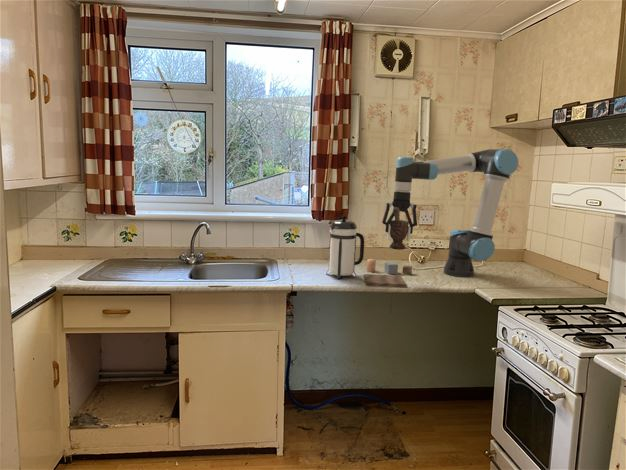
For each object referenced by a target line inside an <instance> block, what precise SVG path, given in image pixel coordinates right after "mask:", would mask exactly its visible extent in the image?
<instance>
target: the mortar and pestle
mask: <svg viewBox="0 0 626 470" xmlns="http://www.w3.org/2000/svg"><path fill="white" fill-rule="evenodd" d="M392 212H393V213H394V217H393V218H394V219H392V221H391V222H390V224H389V225H390V226H391V227H390V238H391V239H392V242H391V243H390V245H389V248H390V249H392V250H397V251H398V250H399V251H402V250H405V249H406V245H405V244H404V243H403V241H404V240H405V239H407V232H408V226H409V222H408V220H405V219H404V220H403V219H401V218H400V214H401V213H400V212H401V211H400V210H399V208H398V207H393V209H392Z"/></svg>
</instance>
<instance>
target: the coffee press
mask: <svg viewBox="0 0 626 470" xmlns="http://www.w3.org/2000/svg"><path fill="white" fill-rule="evenodd" d="M347 218H348V217H347V215H344V214H343V215H342V216H341V219H335V220H333V221H332V222H331V224H330V225H329V226H330V228H329V233H330V234H329V236H330V237H329V238H330V239H329V257H328V260H329V261H328V270H327V271H326V273H325V274H326V275H327V276H329V275H330V274H332V275H335V276H337V277H336V280H338V281H339V280H340V279H341V277H344V276H352V277H353V278H354V279H355V278H357V273H356V272H355V270H356V269H355V266H358V265H360V264H361V263H362V261H363V259H364V256H365V255H364V253H365V238H364V237H365V236H364V235H363V234H362V233H360V232H357V229H358V226H357V223H355V221H352V220H349V219H347ZM357 237H358V239H359V241H360V243H359V244H360V245H359V257H358V259H357V260H356V247H357ZM328 272H329V274H328ZM353 274H354V275H355V276H354V275H353Z"/></svg>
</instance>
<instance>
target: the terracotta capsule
mask: <svg viewBox="0 0 626 470" xmlns="http://www.w3.org/2000/svg"><path fill="white" fill-rule="evenodd" d="M366 261H367V262H366V272H368V273H376V265H377V264H376V263H377V259H375V258H367V260H366Z"/></svg>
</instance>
